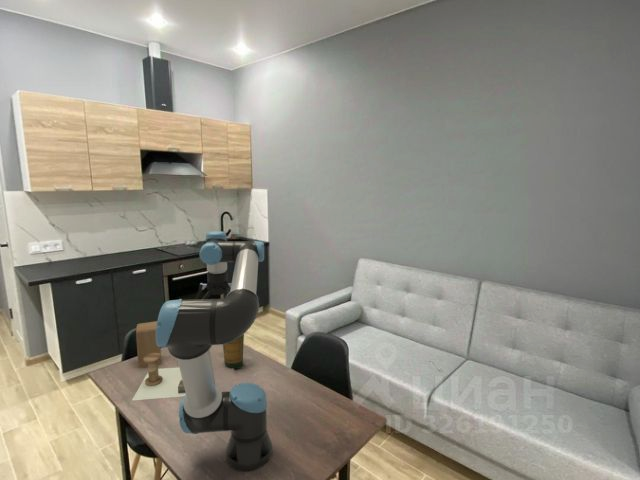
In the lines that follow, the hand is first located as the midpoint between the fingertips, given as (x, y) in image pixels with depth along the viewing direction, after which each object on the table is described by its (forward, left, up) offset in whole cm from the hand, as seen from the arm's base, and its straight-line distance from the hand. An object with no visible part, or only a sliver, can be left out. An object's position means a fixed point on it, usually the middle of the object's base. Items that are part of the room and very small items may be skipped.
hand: (218, 322), depth 139 cm
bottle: (+28, -3, -35) cm, 45 cm away
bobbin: (+17, +31, -33) cm, 48 cm away
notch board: (+16, +16, -33) cm, 40 cm away
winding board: (+16, +25, -35) cm, 45 cm away
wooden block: (+36, +38, -35) cm, 63 cm away
